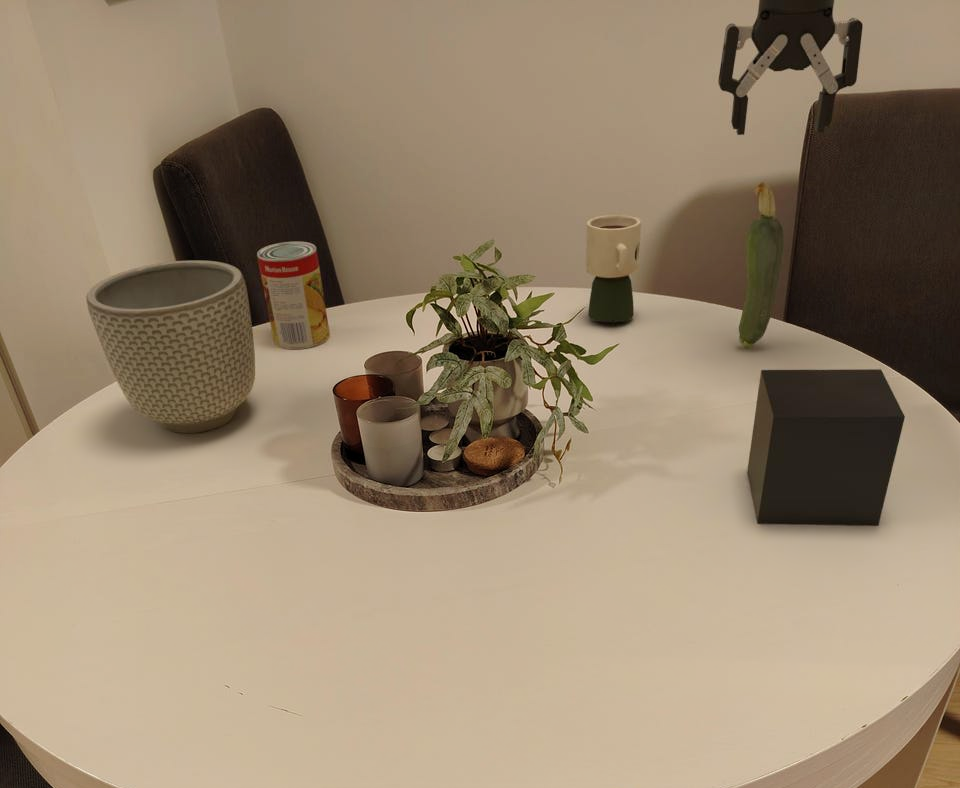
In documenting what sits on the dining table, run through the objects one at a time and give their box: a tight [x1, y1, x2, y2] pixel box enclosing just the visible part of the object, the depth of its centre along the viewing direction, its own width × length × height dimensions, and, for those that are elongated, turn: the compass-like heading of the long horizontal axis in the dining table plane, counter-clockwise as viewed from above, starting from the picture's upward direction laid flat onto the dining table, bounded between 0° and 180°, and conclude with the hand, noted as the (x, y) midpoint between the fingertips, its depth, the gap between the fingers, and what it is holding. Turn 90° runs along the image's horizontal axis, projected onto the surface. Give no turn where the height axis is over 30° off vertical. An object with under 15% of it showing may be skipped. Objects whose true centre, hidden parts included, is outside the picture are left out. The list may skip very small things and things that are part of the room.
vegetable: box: [738, 181, 784, 350], centre depth 115 cm, size 4×4×20 cm
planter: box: [85, 259, 256, 434], centre depth 110 cm, size 17×17×16 cm
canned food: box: [256, 240, 331, 350], centre depth 129 cm, size 8×8×12 cm
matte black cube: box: [746, 368, 906, 526], centre depth 90 cm, size 11×12×11 cm
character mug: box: [585, 214, 642, 324], centre depth 128 cm, size 11×7×13 cm, turn 9°
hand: (779, 132), depth 106 cm, fingers open, 8 cm apart
